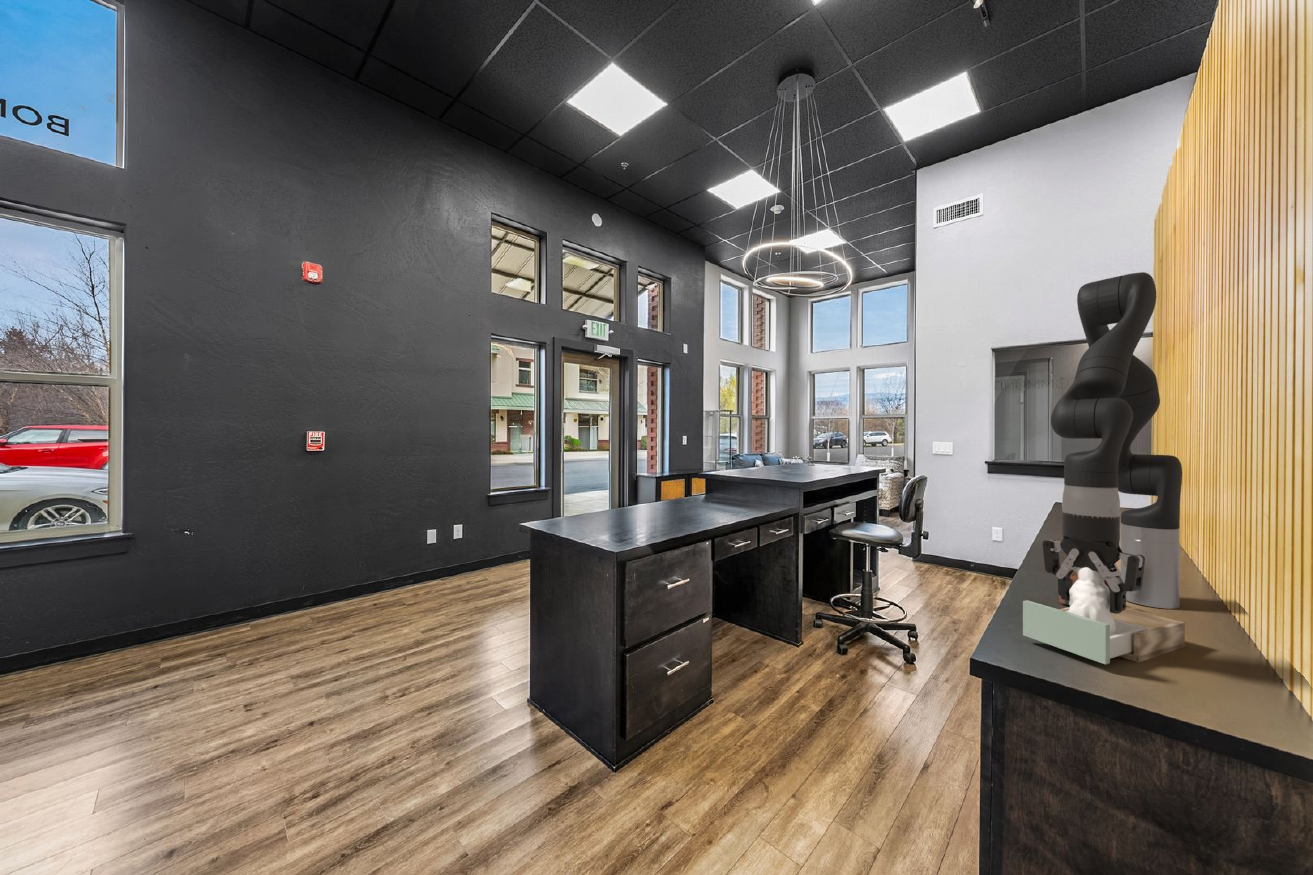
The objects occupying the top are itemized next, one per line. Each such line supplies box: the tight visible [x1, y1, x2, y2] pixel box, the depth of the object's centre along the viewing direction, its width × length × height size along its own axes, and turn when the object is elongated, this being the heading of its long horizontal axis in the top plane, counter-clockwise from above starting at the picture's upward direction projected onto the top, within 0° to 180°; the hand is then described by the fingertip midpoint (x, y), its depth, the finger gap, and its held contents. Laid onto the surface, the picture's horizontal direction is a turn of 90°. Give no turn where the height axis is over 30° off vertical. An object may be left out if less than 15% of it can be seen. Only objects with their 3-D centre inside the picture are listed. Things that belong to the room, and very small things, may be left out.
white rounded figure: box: [1068, 567, 1116, 634], centre depth 83 cm, size 6×8×12 cm
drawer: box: [1022, 599, 1147, 665], centre depth 83 cm, size 14×12×6 cm
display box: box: [1058, 606, 1186, 664], centre depth 87 cm, size 15×12×4 cm
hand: (1090, 605), depth 84 cm, fingers closed on white rounded figure, 6 cm apart
